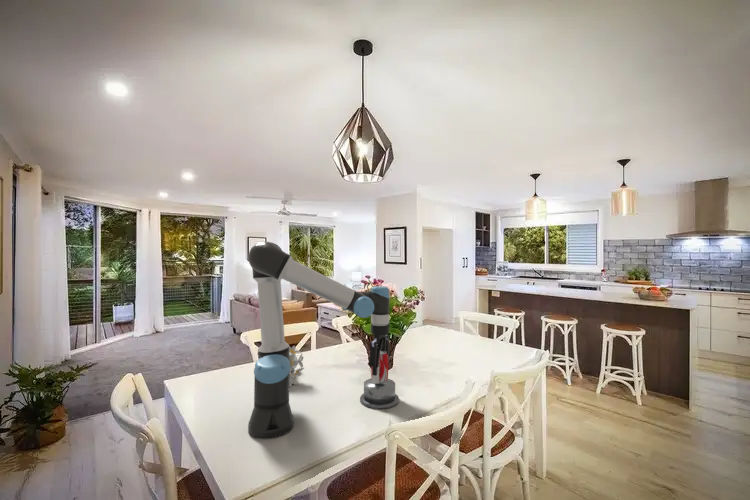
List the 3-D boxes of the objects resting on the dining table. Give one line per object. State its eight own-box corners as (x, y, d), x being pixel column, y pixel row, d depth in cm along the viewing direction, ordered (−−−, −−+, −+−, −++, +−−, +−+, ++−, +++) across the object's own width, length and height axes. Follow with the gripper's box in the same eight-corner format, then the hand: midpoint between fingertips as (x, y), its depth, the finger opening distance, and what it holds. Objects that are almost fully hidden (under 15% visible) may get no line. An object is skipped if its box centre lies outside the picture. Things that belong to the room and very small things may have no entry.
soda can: (390, 383, 136) (390, 353, 136) (373, 384, 134) (373, 354, 134) (385, 377, 143) (385, 348, 143) (369, 378, 141) (369, 349, 141)
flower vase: (279, 384, 171) (280, 390, 148) (273, 348, 175) (272, 348, 152) (305, 377, 175) (309, 382, 152) (298, 342, 179) (301, 341, 156)
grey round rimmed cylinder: (353, 404, 134) (353, 386, 134) (370, 389, 149) (370, 374, 149) (390, 412, 128) (390, 394, 128) (404, 396, 142) (404, 380, 142)
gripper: (381, 319, 149) (381, 370, 149) (360, 327, 131) (360, 386, 131) (397, 320, 146) (396, 373, 146) (378, 329, 128) (377, 389, 128)
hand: (379, 379), depth 138 cm, fingers closed on soda can, 7 cm apart
